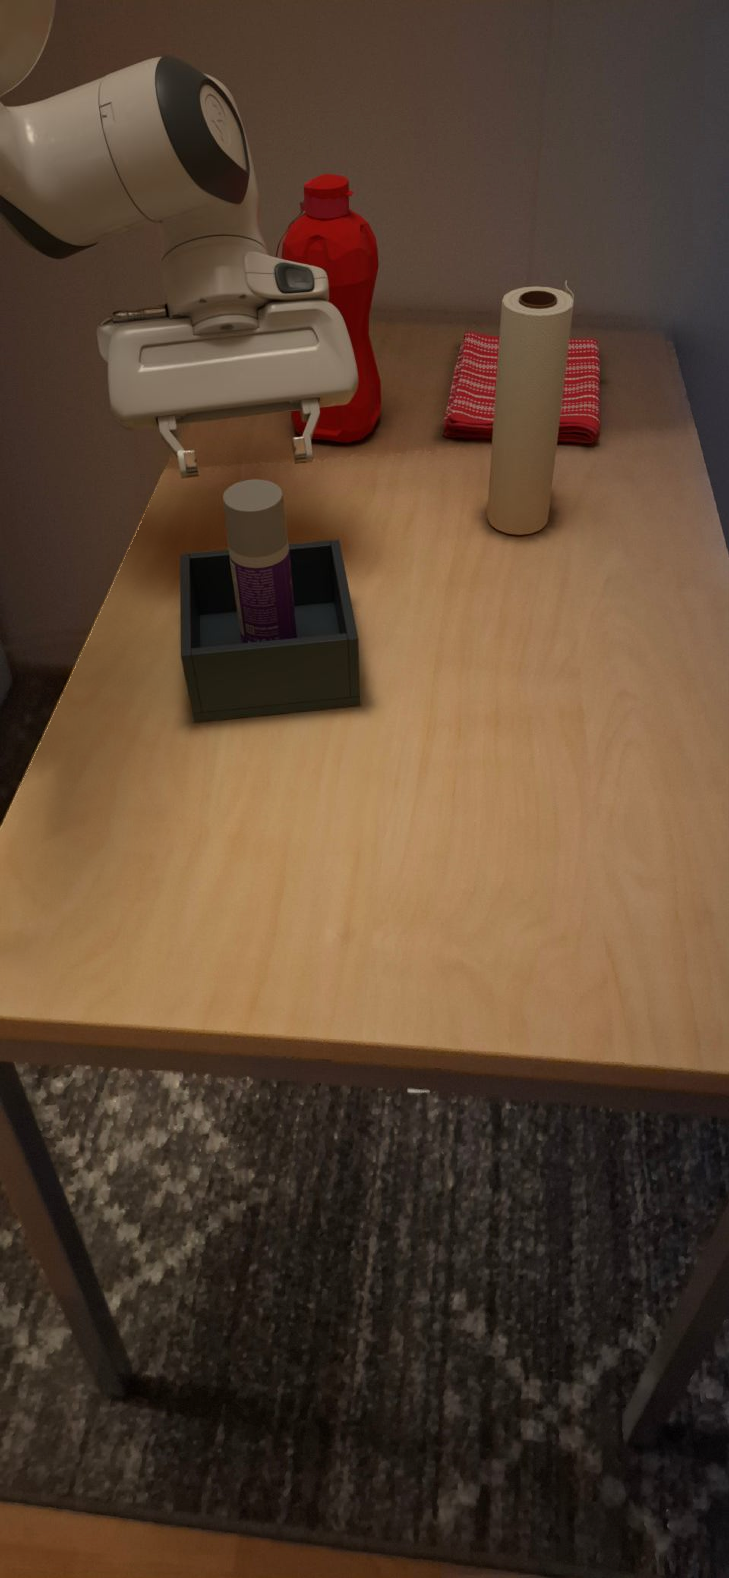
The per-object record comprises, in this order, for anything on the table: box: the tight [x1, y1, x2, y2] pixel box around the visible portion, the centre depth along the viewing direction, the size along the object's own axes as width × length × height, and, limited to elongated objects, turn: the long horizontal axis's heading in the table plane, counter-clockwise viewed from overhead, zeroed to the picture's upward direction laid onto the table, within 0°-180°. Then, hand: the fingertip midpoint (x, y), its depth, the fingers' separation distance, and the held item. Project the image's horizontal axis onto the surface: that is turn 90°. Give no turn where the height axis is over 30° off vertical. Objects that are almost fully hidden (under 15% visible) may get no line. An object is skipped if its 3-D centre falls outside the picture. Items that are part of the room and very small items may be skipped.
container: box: [222, 479, 297, 643], centre depth 83 cm, size 5×5×15 cm
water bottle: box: [275, 173, 382, 444], centre depth 108 cm, size 9×11×25 cm
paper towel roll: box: [486, 279, 575, 536], centre depth 95 cm, size 7×6×21 cm
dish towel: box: [442, 331, 601, 444], centre depth 120 cm, size 17×24×3 cm
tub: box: [179, 539, 362, 723], centre depth 87 cm, size 14×14×7 cm
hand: (247, 468), depth 86 cm, fingers open, 8 cm apart
